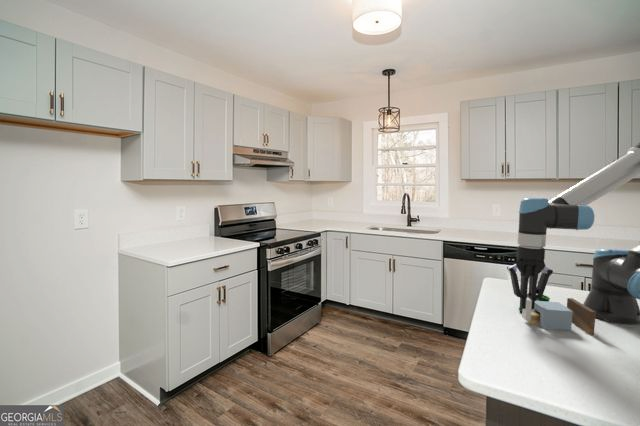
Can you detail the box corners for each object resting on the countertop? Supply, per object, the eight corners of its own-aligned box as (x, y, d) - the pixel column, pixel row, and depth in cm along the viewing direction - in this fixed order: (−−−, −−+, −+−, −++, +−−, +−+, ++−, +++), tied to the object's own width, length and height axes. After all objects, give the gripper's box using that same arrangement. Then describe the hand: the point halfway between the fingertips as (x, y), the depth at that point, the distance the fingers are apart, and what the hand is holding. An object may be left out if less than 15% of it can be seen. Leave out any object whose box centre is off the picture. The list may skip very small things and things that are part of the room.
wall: (570, 318, 112) (572, 298, 111) (593, 334, 100) (595, 311, 100) (565, 318, 112) (567, 298, 112) (588, 334, 100) (590, 311, 100)
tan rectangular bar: (548, 321, 109) (549, 312, 109) (553, 325, 106) (554, 316, 106) (525, 320, 110) (526, 311, 110) (529, 323, 108) (530, 314, 107)
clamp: (534, 327, 116) (540, 308, 111) (516, 317, 120) (521, 299, 115) (547, 307, 122) (553, 288, 117) (529, 299, 126) (535, 281, 121)
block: (557, 319, 111) (558, 302, 110) (571, 330, 103) (572, 311, 102) (530, 317, 112) (532, 300, 112) (542, 328, 104) (544, 309, 104)
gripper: (547, 245, 109) (542, 315, 111) (504, 243, 111) (500, 312, 113) (560, 249, 102) (554, 324, 104) (513, 247, 104) (509, 321, 106)
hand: (526, 318), depth 109 cm, fingers closed
